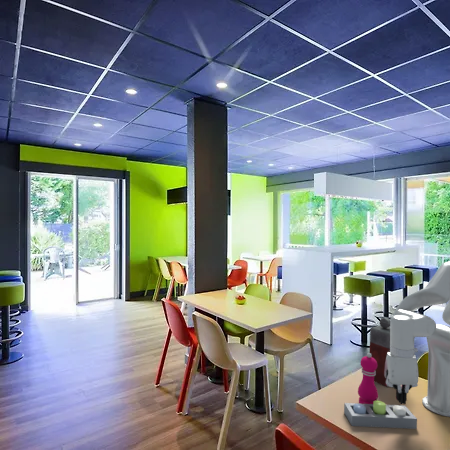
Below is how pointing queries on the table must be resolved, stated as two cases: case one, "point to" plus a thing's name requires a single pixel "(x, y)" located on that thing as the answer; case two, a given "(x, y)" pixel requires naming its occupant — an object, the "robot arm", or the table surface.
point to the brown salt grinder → (380, 348)
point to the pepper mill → (368, 381)
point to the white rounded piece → (399, 410)
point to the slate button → (359, 409)
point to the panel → (380, 417)
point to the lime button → (379, 407)
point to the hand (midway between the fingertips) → (401, 402)
